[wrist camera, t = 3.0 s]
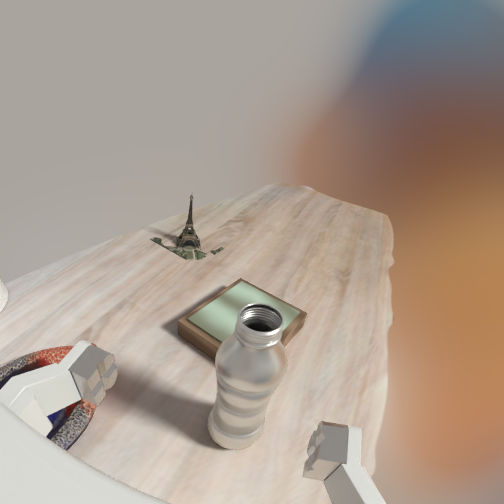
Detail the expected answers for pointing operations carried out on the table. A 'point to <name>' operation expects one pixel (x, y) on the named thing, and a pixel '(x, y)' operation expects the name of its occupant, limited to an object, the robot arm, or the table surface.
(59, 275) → the table surface
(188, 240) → the eiffel tower figurine
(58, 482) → the robot arm
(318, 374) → the table surface
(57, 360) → the dish
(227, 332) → the walnut stand
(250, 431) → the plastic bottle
